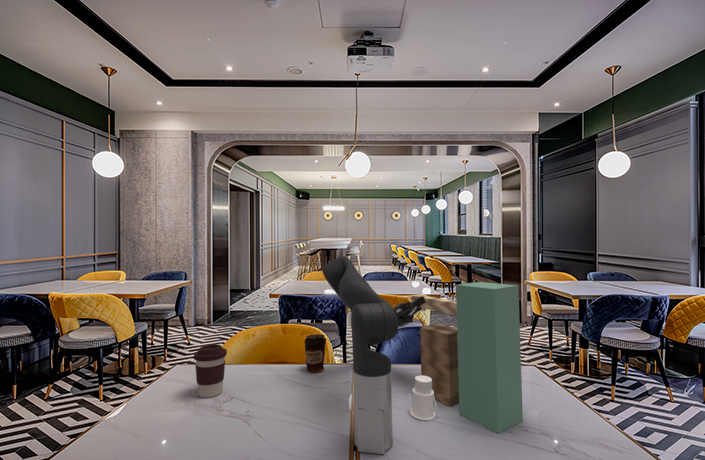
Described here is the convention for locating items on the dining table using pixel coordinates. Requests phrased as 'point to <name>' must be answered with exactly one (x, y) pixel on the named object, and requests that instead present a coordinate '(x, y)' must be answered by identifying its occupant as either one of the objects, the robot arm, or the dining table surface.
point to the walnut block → (441, 361)
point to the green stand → (489, 354)
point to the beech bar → (437, 304)
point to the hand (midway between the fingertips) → (428, 298)
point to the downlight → (423, 399)
